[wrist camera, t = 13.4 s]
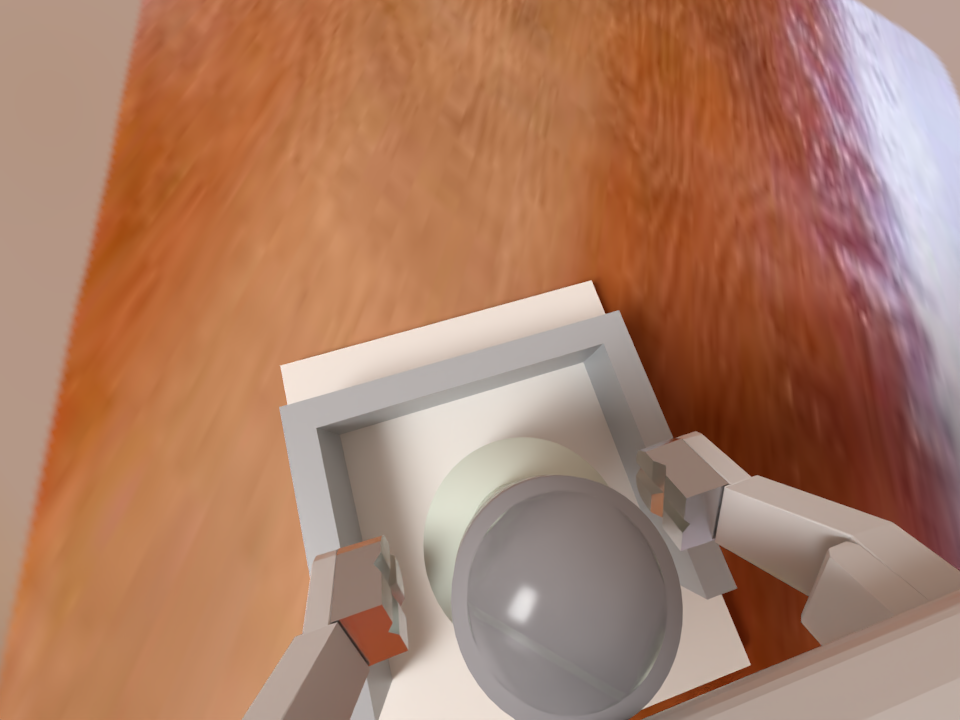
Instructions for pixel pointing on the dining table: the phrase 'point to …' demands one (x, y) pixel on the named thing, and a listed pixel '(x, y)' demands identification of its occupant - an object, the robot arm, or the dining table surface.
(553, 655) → the pale green bottle
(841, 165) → the dining table surface
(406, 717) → the u stand
